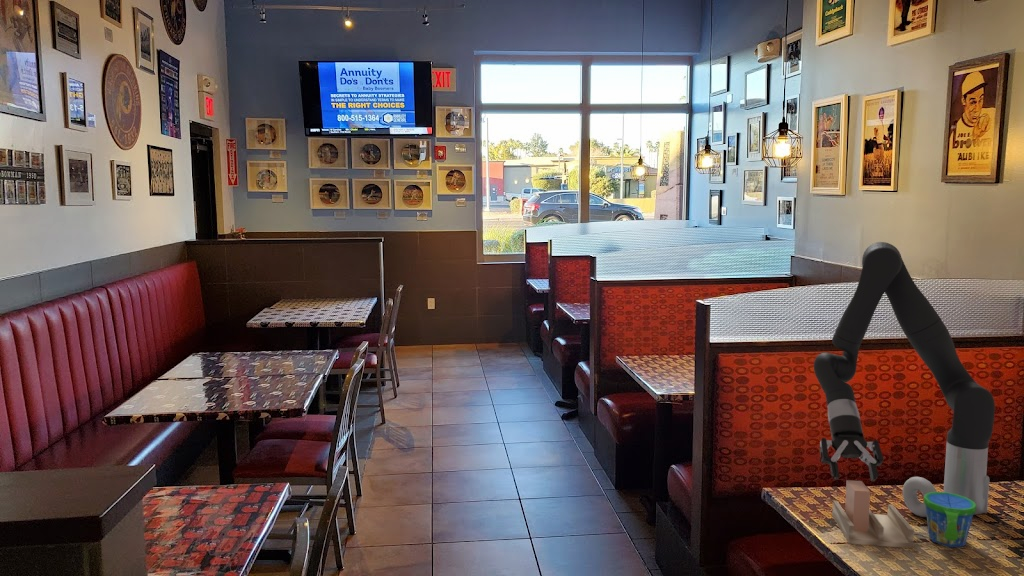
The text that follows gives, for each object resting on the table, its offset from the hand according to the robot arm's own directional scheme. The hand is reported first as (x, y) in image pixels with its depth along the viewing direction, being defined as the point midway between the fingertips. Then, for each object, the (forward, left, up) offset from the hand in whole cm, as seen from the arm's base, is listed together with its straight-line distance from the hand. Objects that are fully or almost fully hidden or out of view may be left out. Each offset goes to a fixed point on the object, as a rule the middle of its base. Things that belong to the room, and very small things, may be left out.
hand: (855, 479), depth 185 cm
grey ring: (-18, -8, -12) cm, 23 cm away
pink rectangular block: (0, +4, -10) cm, 11 cm away
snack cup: (-19, +7, -12) cm, 23 cm away
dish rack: (-3, +4, -12) cm, 13 cm away
